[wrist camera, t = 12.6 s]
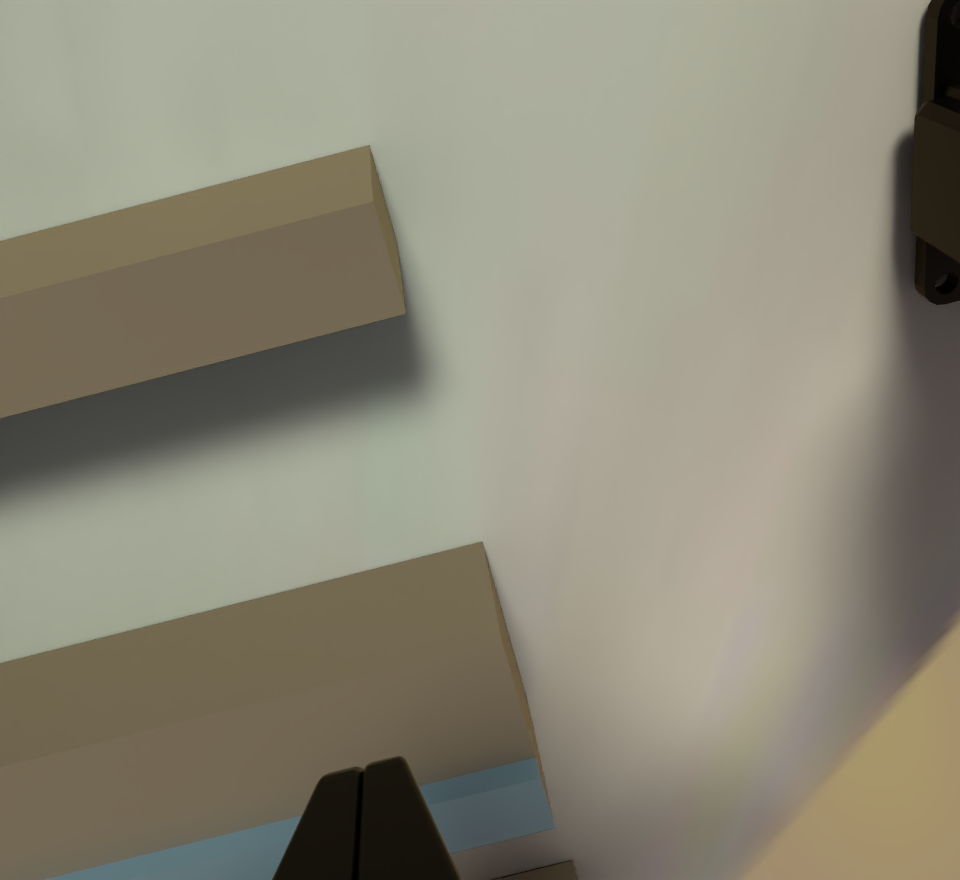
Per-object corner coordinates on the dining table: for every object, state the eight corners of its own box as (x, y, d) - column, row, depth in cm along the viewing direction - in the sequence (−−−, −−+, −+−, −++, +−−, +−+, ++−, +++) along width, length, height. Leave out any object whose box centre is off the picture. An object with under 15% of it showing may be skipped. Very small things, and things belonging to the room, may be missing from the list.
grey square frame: (369, 145, 17) (376, 232, 13) (582, 893, 31) (618, 1052, 27) (-433, 354, 18) (-678, 505, 13) (133, 1004, 32) (100, 1177, 27)
